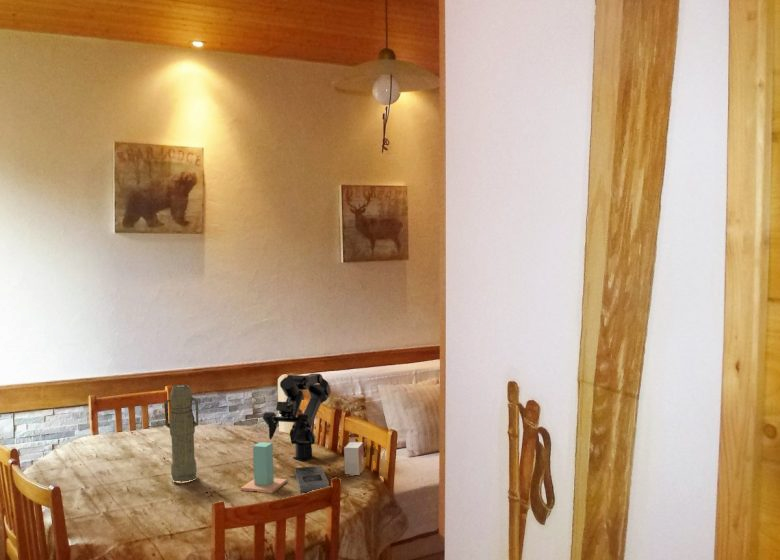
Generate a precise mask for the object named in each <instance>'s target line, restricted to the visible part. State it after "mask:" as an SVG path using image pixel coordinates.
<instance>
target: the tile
mask: <svg viewBox="0 0 780 560" xmlns="http://www.w3.org/2000/svg"><path fill="white" fill-rule="evenodd" d="M287 482H288V479H286V478H278V477H277V478H276V477H274V482H273V483H271V484H270V485H268V486H259V485H254V478H253V479H251V480H250V481H248V482H247V483H245V484H244V485H242V486H241V487H240V491H241V490H243V491H242V492H244V491H245V492H253V491H257V492H256V493H263V494H264V493H268V494H273V493H274V492H275V491H277V490H278V489H280V488H281V487H282V486H283V485H285V484H286V483H287Z"/></svg>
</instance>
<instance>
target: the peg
mask: <svg viewBox="0 0 780 560" xmlns="http://www.w3.org/2000/svg"><path fill="white" fill-rule="evenodd" d="M273 447H274V446H273V442H265V441H264V442H263V441H260V442H257V443H256V444H254V445H252V451H253V452H252V455H253V458H252V459H253V479H254V485H259V486H268V485H270V484H271V483H273V482H274V478H275V477H274V473H275V472H274V451H273V450H274V449H273Z"/></svg>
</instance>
